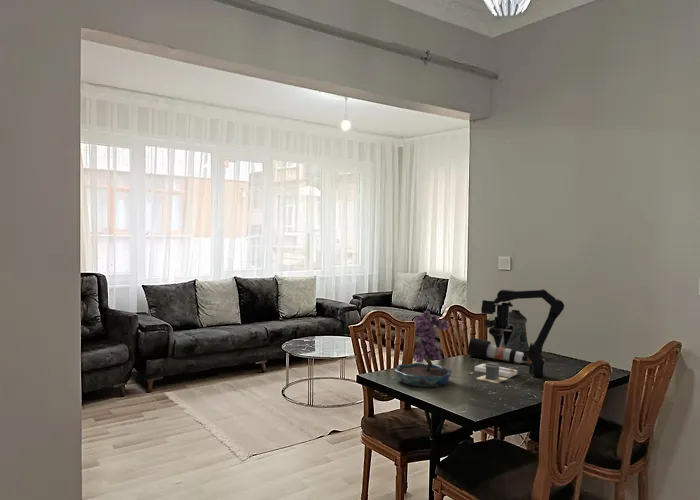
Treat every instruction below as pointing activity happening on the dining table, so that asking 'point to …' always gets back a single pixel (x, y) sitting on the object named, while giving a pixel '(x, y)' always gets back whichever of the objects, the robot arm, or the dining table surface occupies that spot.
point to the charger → (492, 371)
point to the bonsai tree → (425, 356)
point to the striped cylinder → (494, 351)
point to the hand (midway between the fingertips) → (501, 346)
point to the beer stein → (517, 333)
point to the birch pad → (491, 380)
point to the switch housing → (502, 371)
